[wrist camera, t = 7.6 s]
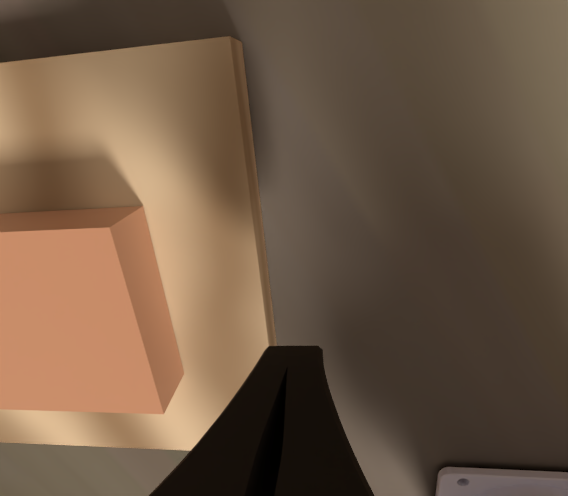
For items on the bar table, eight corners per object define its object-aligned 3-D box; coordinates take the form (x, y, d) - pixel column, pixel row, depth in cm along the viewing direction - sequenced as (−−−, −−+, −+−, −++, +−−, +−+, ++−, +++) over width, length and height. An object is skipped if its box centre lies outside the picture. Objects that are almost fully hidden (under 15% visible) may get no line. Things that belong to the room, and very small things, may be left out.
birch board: (241, 42, 11) (229, 36, 10) (286, 425, 17) (282, 454, 16) (-142, 86, 13) (-198, 85, 12) (22, 417, 19) (-1, 442, 18)
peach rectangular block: (109, 227, 10) (-132, 238, 11) (163, 414, 13) (-35, 408, 14) (143, 205, 12) (-67, 216, 13) (184, 372, 15) (8, 370, 16)
